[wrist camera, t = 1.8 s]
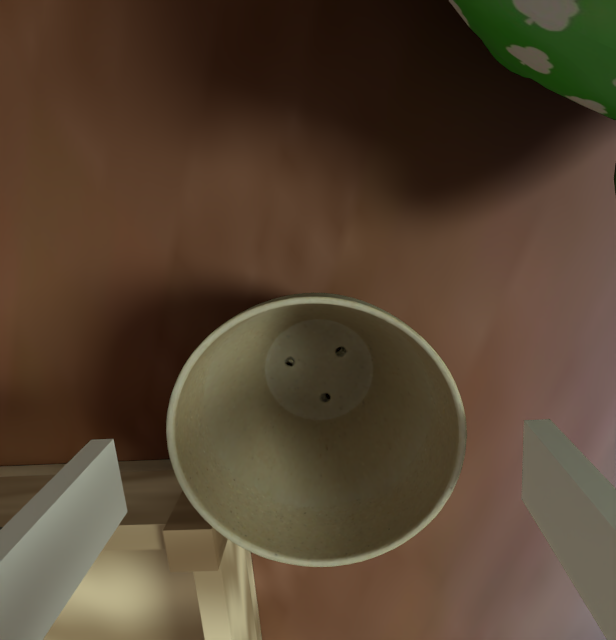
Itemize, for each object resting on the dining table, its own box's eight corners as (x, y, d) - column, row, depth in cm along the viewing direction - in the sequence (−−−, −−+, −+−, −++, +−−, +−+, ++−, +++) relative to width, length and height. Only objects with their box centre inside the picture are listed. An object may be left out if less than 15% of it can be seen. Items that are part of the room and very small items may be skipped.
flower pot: (271, 488, 25) (247, 603, 18) (179, 315, 23) (111, 371, 16) (458, 418, 23) (510, 515, 16) (378, 225, 21) (398, 243, 14)
